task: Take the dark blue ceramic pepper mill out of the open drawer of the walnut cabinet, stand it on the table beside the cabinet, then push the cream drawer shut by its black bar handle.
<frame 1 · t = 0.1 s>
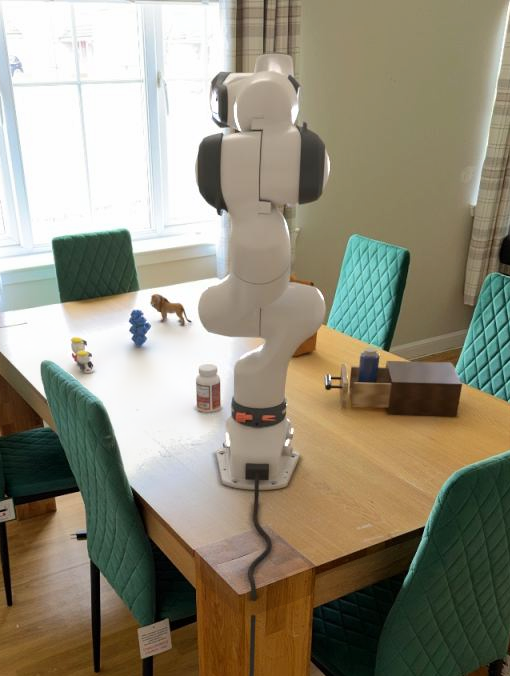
hand: (269, 207, 169), 48 cm above the table, tool pointing down, fingers open, 8 cm apart
pepper mill: (365, 394, 192), point 2 cm above the table, touching drawer
drawer: (363, 386, 191), point 4 cm above the table, slide at 10.5 cm, touching pepper mill
pill bottle: (208, 408, 192), on the table
cabinet: (418, 404, 192), on the table
lion figurine: (169, 322, 254), on the table
coffee package: (295, 350, 228), on the table
toy figures: (82, 368, 218), on the table
grapes: (142, 346, 233), on the table
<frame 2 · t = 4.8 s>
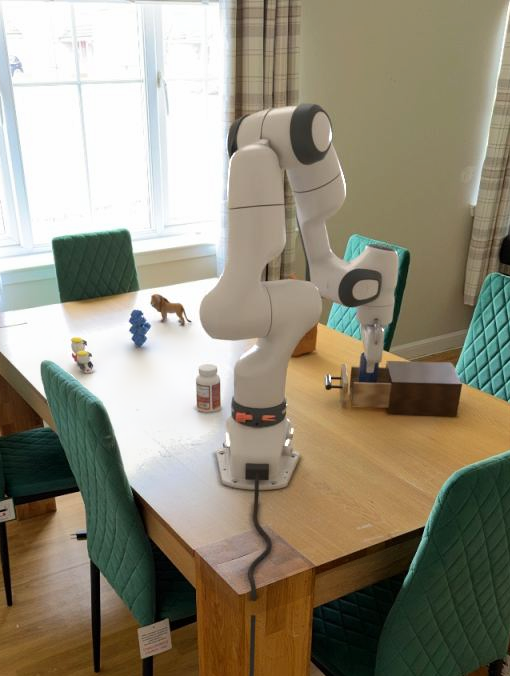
hand: (368, 367, 188), 10 cm above the table, tool pointing down, fingers closed on pepper mill, 5 cm apart
pepper mill: (365, 394, 192), point 2 cm above the table, touching drawer, gripper
everything else where it was.
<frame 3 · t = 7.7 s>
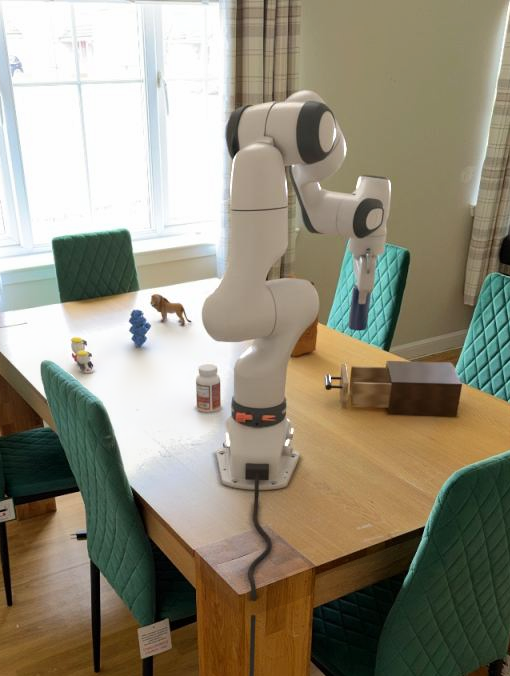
hand: (360, 299, 193), 23 cm above the table, tool pointing down, fingers closed on pepper mill, 5 cm apart
pepper mill: (357, 327, 197), point 15 cm above the table, touching gripper
drawer: (363, 386, 191), point 4 cm above the table, slide at 10.5 cm
everything else where it was.
when the fingers open (7 cm above the table, at t = 10.7 s): pepper mill stays where it is, on the table.
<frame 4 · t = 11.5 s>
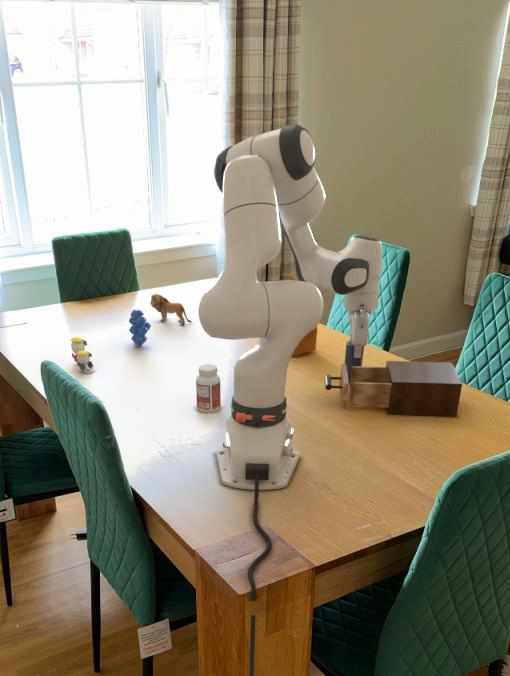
hand: (356, 351, 202), 9 cm above the table, tool pointing down, fingers open, 8 cm apart
pepper mill: (351, 380, 206), on the table
everything else where it was.
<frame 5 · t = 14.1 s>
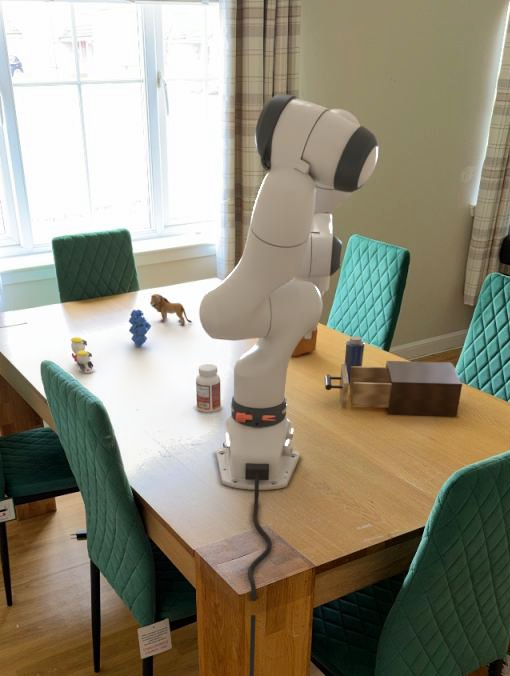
hand: (307, 337, 186), 17 cm above the table, tool pointing down, fingers closed
nothing on the table moved.
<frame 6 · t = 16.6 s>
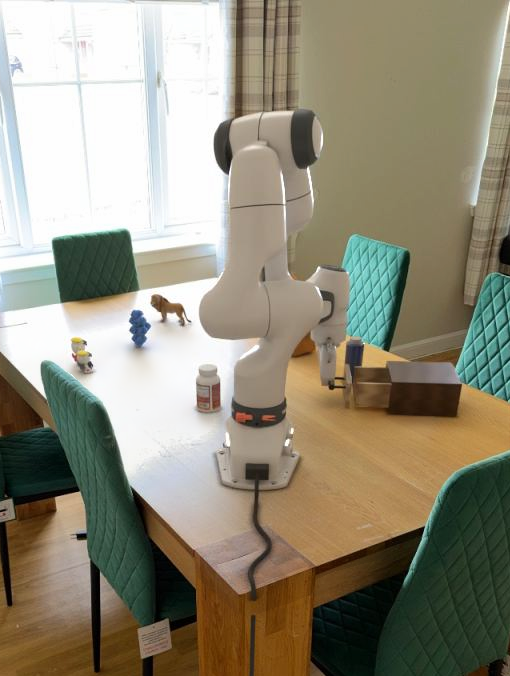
hand: (324, 384, 192), 5 cm above the table, tool pointing down, fingers closed
drawer: (366, 386, 191), point 4 cm above the table, slide at 9.6 cm, touching gripper
everything else where it was.
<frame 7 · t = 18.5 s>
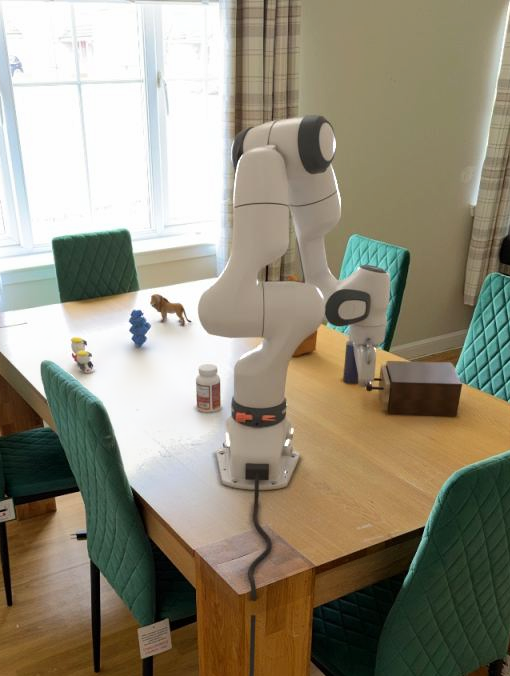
hand: (361, 385, 191), 5 cm above the table, tool pointing down, fingers closed, pressing on drawer
drawer: (404, 387, 190), point 4 cm above the table, slide at 0.2 cm, touching gripper
everything else where it was.
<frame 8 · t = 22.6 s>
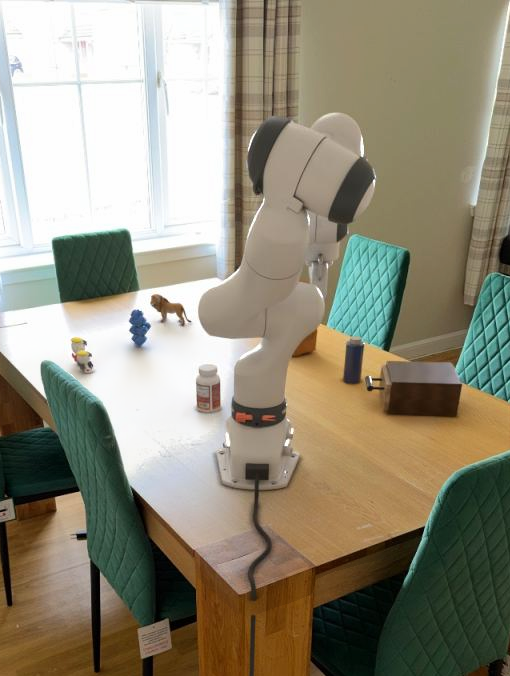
hand: (316, 309, 179), 25 cm above the table, tool pointing down, fingers closed
drawer: (404, 387, 190), point 4 cm above the table, slide at 0.0 cm, touching cabinet
everything else where it was.
at the end: pepper mill inside the target area (0.2 cm from its centre), on the table; pepper mill tilted 0°; drawer slide at 0.0 cm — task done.
